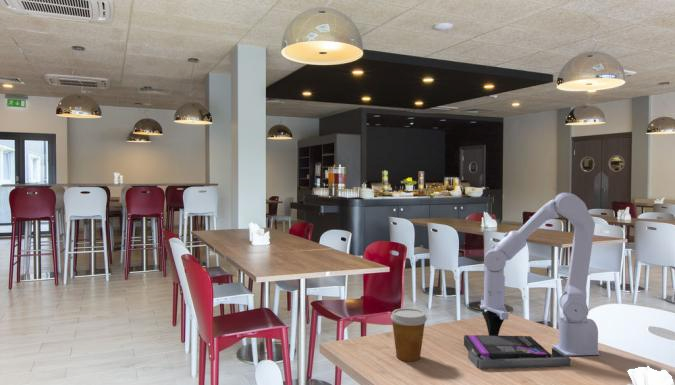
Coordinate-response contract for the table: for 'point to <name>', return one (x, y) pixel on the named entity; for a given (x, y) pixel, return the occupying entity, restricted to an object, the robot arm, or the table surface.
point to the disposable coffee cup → (408, 333)
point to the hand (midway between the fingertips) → (493, 336)
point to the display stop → (522, 361)
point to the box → (504, 347)
